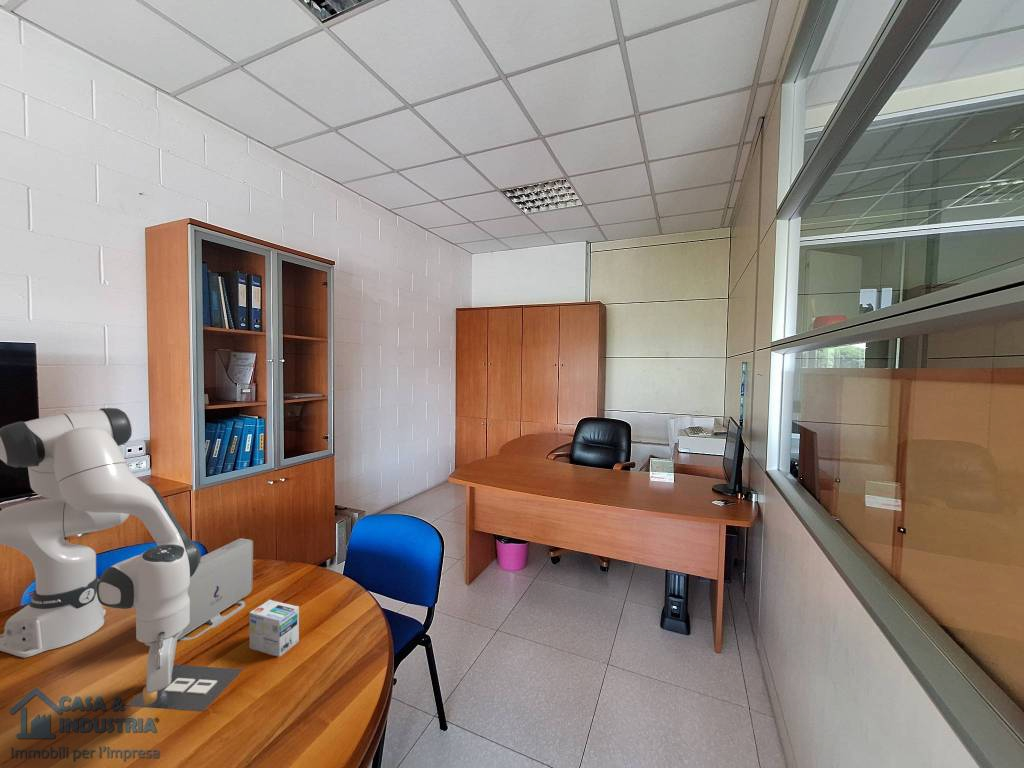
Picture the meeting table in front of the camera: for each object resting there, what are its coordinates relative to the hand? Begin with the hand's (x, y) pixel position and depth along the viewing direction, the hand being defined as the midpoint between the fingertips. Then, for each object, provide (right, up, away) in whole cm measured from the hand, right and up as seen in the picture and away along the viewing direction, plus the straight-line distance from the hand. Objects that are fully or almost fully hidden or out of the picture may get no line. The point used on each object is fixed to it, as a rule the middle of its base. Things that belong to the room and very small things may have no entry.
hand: (163, 682), depth 85 cm
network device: (-14, -5, +31) cm, 34 cm away
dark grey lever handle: (-3, -1, +2) cm, 4 cm away
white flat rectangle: (+4, -6, +6) cm, 9 cm away
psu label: (-2, -6, +6) cm, 9 cm away
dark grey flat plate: (0, -6, +6) cm, 9 cm away
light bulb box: (+12, -7, +21) cm, 25 cm away
